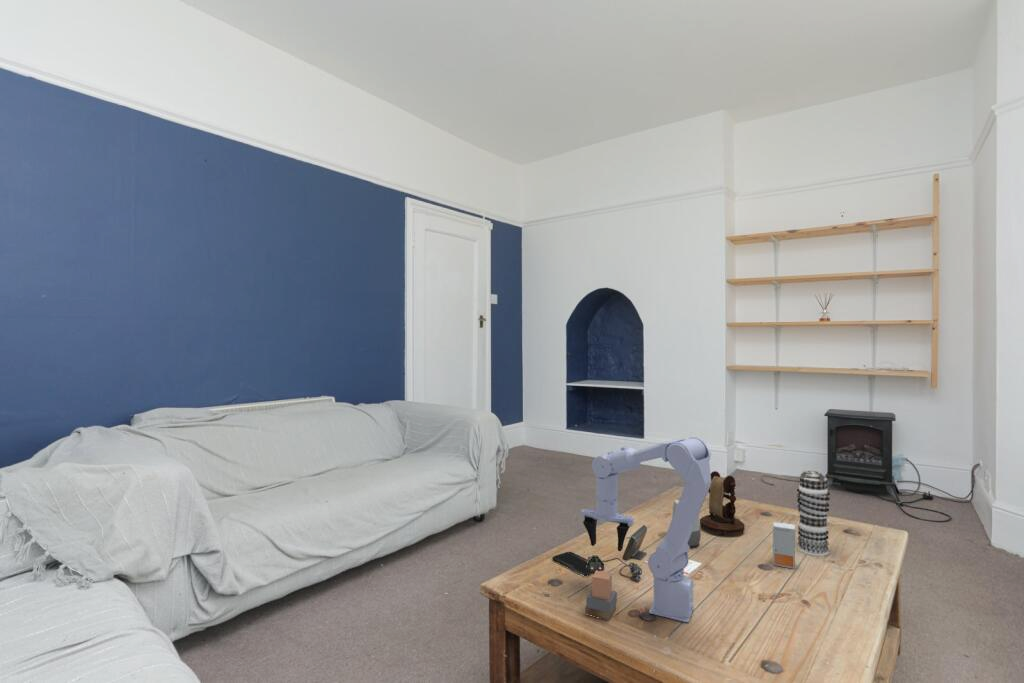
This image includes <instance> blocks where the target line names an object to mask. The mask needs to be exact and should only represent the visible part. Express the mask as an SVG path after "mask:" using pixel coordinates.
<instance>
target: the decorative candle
mask: <svg viewBox="0 0 1024 683" xmlns="http://www.w3.org/2000/svg"><path fill="white" fill-rule="evenodd" d="M798 477H799V486H798V487H799V488H797V489H796V492H798V493H797V494H796V497H797V498H796V500H797V501H796V502H797V503H798V504H797V512H798V514H799V521H798V527H797V530H798V531H797V532H798V533H797V535H798V537H797V541H798V542H797V545H798V546H797V547H798V550H799V552H801V553H803V554H806V555H809V556H813V557H814V556H815V557H824V555H826V556H828V555H829V541H828V540H829V535H828V534H829V530H828V519H827V518H829V514H828V512H830V509H829V508H828V507H830V504H829V502H828V501H831V498H830V497H829V496H831V493H830V491H829V490H828V478H827V477H825V475H824V474H823V473H822V472H820V471H814V470H804V471H803V472H801V474H799V475H798Z"/></svg>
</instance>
